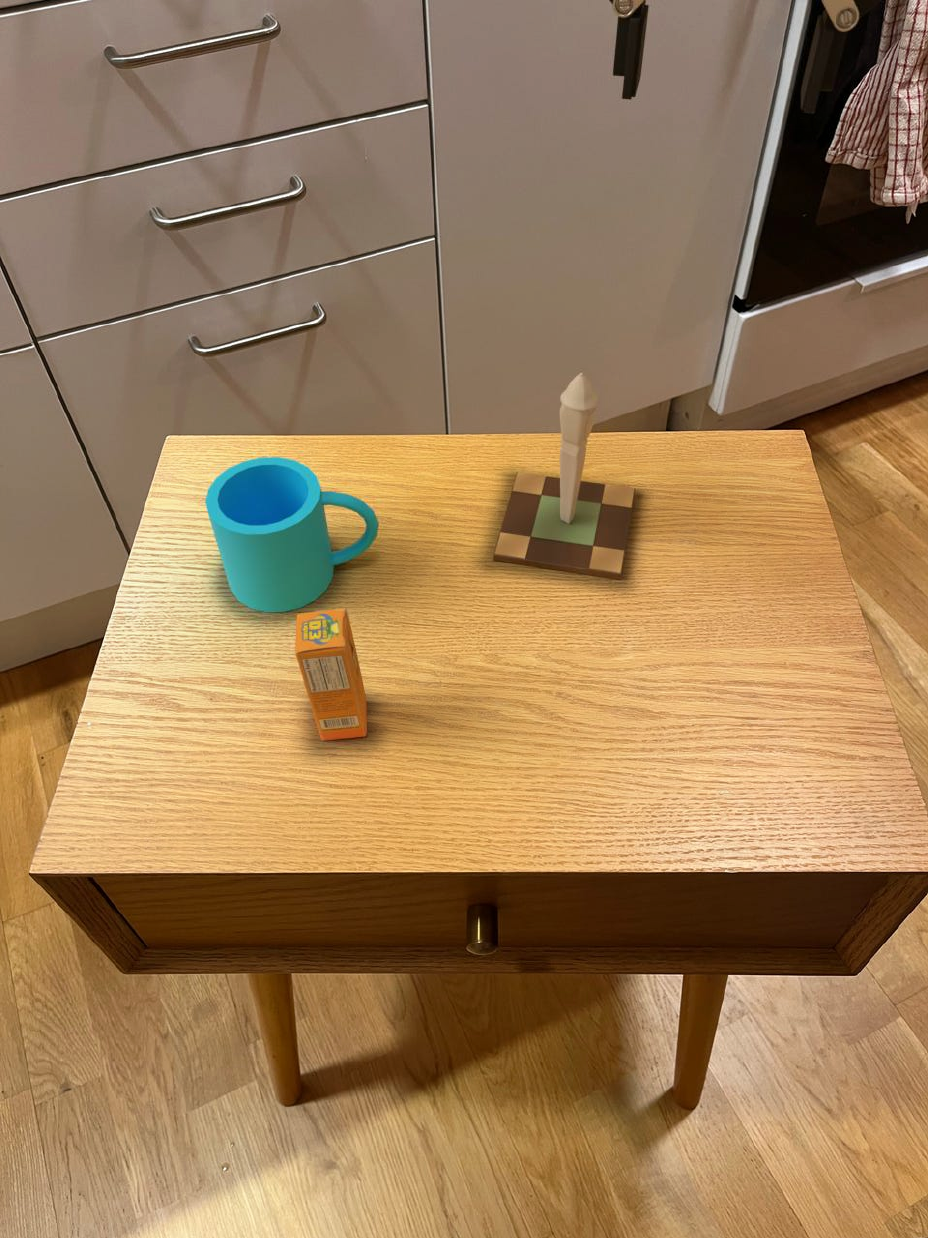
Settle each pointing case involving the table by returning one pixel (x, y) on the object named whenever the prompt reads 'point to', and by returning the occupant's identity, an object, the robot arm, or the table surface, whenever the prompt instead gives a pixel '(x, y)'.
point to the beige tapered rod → (574, 440)
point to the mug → (279, 532)
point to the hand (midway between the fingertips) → (717, 96)
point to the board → (566, 527)
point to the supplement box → (331, 673)
